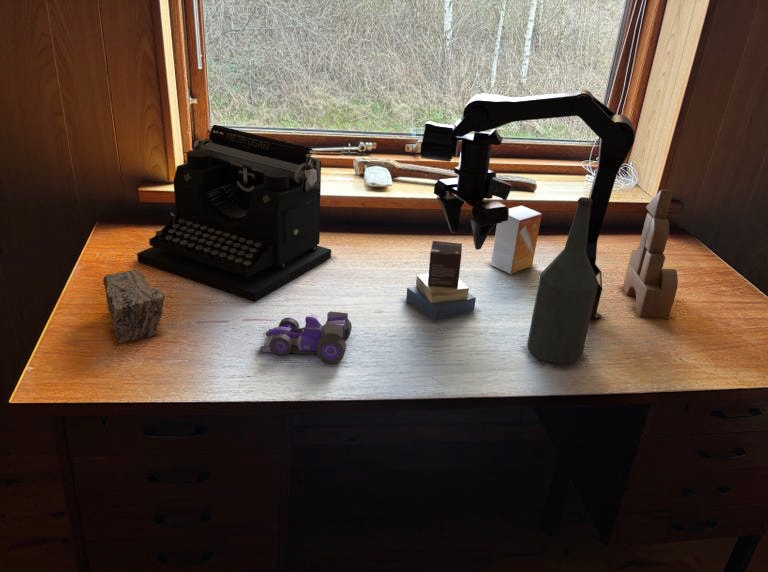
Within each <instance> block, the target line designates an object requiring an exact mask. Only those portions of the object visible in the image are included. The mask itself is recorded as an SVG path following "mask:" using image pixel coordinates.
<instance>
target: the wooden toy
mask: <svg viewBox="0 0 768 572" xmlns="http://www.w3.org/2000/svg"><path fill="white" fill-rule="evenodd" d="M673 195H674V190H672V189H661V190H659V191H658V192H657V194H656V195H655V196H654V197H653V198H652V199H651V200H650V201H649V202H648V204H647V205H646V206H645V209H646V210H647V211H648V212H647V213H646V216H645V220H644V224H643V228H642V232H641V236H640V240H639V244H638V246H637V248H636V249H632V250H631V252H630V257H629V261H628V264H627V267H626V273H625V277H624V280H623V284H622V289H623V291H624V293H625V294H626V295H627V296H635V307H634V309H635V311H636V313H637V315H638V316H639V317H640V318H666V319H667V318H668V319H669V318H670V315H671V311H672V308H673V304H674V301H675V298H676V295H677V291H678V284H679V277H678V271H677V269H676V268H663V267H664V265H665V260H666V255H665V254H664V252H665V250H666V245H667V242H668V238H669V235H670V222H669V219H668V218H667V217H668V213H669V211H670V206H671V203H672V199H673Z"/></svg>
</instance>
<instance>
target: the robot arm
mask: <svg viewBox="0 0 768 572" xmlns="http://www.w3.org/2000/svg"><path fill="white" fill-rule="evenodd" d="M592 93H593V92H591V91H589V90H587V89H580V90H577V91H570V92H560V93H549V94H539V95H529V96H520V97H512V96H505V95H502V94H501V95H500V94H491V93H478V94H475V95H473V96H472V97H471V98H470V100H469V101H468V102H467V104H466V105H465V107H464V109H463V112H462V116H461V117H460V118H459V119H457V120H456V122H455V123H454V125H452V124H445V123H444V124H443V123H437V122H434V121H426V122H425V124H424V131H423V135H422V141H421V142H420V158H421V159H425V160H432V161H440V162H447V163H451V161H452V160H453V158H457V157H458V153H459V147H460V154H459V163H458V166H456V167H454V170H453V172H454V174H456V175H457V177H453V178H452V177H451V178H450V177H449V178H442V179H441V178H440V179H438V180H437V181H436V182H435V183H434V184H433V194H434V195H435V196H436V200H438V202H439V205H440V207H441V209H442V212H443V215H444V218H445V219H446V222H447V226H448V228H449V229H450V233H451V234H456V233H457V231H458V229H459V222H460V218H461V212H462V207H463V205H464V204H467V205H468V206H470V207H472V209H471V215H472V218H470V224H471V230H472V238H473V245H474V249H475V250H477V251H478V250H481V249H482V247H483V246H484V243H485V241H486V240H487V238H488V236H489V234H490V232H491V231H492V229H493V227H494V226H497V224H498V223H502V222H503V221H507V220H508V215H509V208H508V207H507V206H506V205H505V204H504V203H501V202H499V201H498V200H491V199H493V197H497V198H500V199H501V200H503V201H505V202H506V201H507V200H508V198H509V196H510V193H511V190H512V188H513V185H512V184H510V183H508V182H507V181H504V180H503V179H501V178H499V177H497V172H495V171H494V170H492V169H490V161H491V154H492V153H491V152H492V146H501V144H502V142H503V137H502V135H500V133H499V132H498V130H497V129H498V128H500V127H503V126H506V125H508V124H511V123H515V122H523V121H524V122H525V121H535V120H546V119H547V120H548V119H556V118H557V119H558V118H568V117H579V118H580V120H581V121H582V122H583V123H585V124H586V125H587V126H588V128H589V129H590V130H591V131H592V132H593V133H594V134H595V135H596V136H597V137H598V138H599V146H598V159H597V167H596V170H595V173H594V177H593V181H592V184H591V188H590V191H589V195H588V198H590V199H592V201H593V203H592V205H591V209H590V219H589V229H588V238H587V248H586V253H587V256H588V258H589V261H590V263H591V266H592V268H593V271H594V273H595V276H596V278H597V281H598V283H599V284H598V289H597V293H596V297H595V302H594V306H593V310H592V314H591V319H590V321H594V320H599V319H602V315H601V314H600V313H599V312H598V308H599V305H600V299H601V296H602V292H603V276H602V274H603V273H602V271H601V270H600V267H598V266H597V252H598V240H599V237H600V233H601V230H602V227H603V224H604V220H605V217H606V213H607V210H608V206H609V203H610V199H611V196H612V193H613V189H614V186H615V183H616V179H617V176H618V173H619V171H620V170H621V167H622V166H623V165H624V163H625V161H626V160H627V157H628V155H629V153H630V152H631V149H632V147H633V145H634V142H635V137H636V136H635V131H634V127H633V123H632V121H631V119H630V118H629V117H628V116H626V115H623V114H616V113H615V112H614V111H612V109H610V108H609V107H608V106H607V105H606V104H604V103H603V102H601V101H600V100H599V99H597V97H595V96H594V94H592ZM491 130H492V131H491ZM488 131H490V132H488ZM472 132H474V134H471V133H472ZM460 141H461V145H460ZM485 199H486V200H489V201H484V200H485Z"/></svg>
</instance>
